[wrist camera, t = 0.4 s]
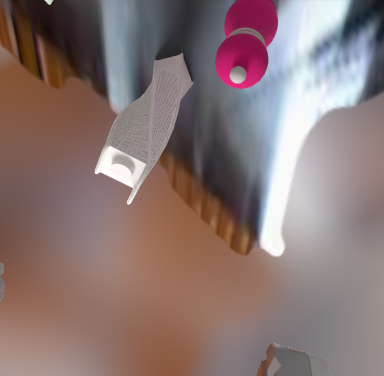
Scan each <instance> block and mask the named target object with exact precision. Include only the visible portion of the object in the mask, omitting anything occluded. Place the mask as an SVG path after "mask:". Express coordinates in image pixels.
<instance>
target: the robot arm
mask: <svg viewBox="0 0 384 376" xmlns="http://www.w3.org/2000/svg"><path fill="white" fill-rule="evenodd" d="M2 273H4V267H3V263H1V262H0V276H1V275H2ZM4 290H5V283H4V282H3V280H2V279H1V277H0V302H1V299H2V298H3V294H4ZM266 356H267V357H266V359H265V360H263V361H261V363H260V366H259V368H258V371H257V375H256V376H330V375H329V371H328V365H327V362H326V360H325V359H324V358H321V357H318V356H315V355H311V354H308V353H305V352H302V351H298V350H295V349H291V348H288V347H284V346H281V345H277V344H274V343H271V344H270V345H269V347H268V349H267V351H266Z"/></svg>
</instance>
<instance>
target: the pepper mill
mask: <svg viewBox="0 0 384 376" xmlns="http://www.w3.org/2000/svg"><path fill="white" fill-rule="evenodd" d="M277 27H278V17H277V13H276V11H275V6H274V3H273V1H272V0H237V1H236V2H235V3H234V4H233V5H232V6H231V7H230V9H229V11H228V12H227V15H226V19H225V26H224V30H225V35H226V38H227V39H225V40H224V41H223V43H222V44H221V45H220V47H219V48H218V51H217V54H216V59H215V66H216V71H217V73H218V75H219V77H220V79H221V80H222V81H223V82H224V83H225V84H227V85H228V86H231V87H233V88H239V89H242V88H248V87H251V86H253V85H255V84H256V83H257V82H259V81H260V80H261V78H262V77H263V75H264V74H265V72H266V69H267V66H268V53H267V49H266V47H267V46H268V45H269V44H270V43H271V42H272V40H273V39H274V37H275V34H276V31H277Z"/></svg>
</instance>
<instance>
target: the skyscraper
mask: <svg viewBox="0 0 384 376" xmlns="http://www.w3.org/2000/svg"><path fill="white" fill-rule="evenodd" d="M192 84H193V81H191V78H190V75H189V72H188V69H187V67H186V64H185V61H184V58H183V53H181V54H180V55H177V56H173V57H169V58H165V59H161V60H155V61H154V70H153V80H152V82H151V84H150V86H149V88H148V89H147V90H146V92H145V93H144V94H143V95H142V96H141V97H140V98H139V99H138V100H136V101H134V102H133V103H131V104H130V105H128V106H127V107H126V108H124V109H123V110H122V111H121V112H120V114H119V115H118V116H117V118H116V119H115V121H114V123H113V125H112V127H111V130H110V132H109V135H108V138H107V141H106V144H105V146H104V148H103V150H102V153H101V155H100V158H99V161H98V163H97V166H96V169H95V174H97V173H99V172H101V173H104V174H106V175H108V176H110V177H112V178H114V179H116V180H118V181H120V182H122V183H124V184H126V185H128V186H130V187H132V188H133V190H132V192H131V194H130V197H129V199H128V201H127V204H130V203H131V202H132V200H133V198H134V196H135V194H136V193H137V191H138V189H139V187H140V185H141V184H142V182H143V181H144V179H145V178H146V177H147V175H148V174H149V172H150V171H151V169H152V168H153V166H154V165H155V163H156V162H157V160H158V158H159V157H160V155H161V154H162V152H163V150H164V148H165V146H166V144H167V142H168V140H169V138H170V136H171V133H172V130H173V128H174V124H175V121H176V118H177V114H178V109H179V104H180V100H181V99H182V97H183V96H184V95H185V94H186V92H187V91H188V90H189V88H190V87H191V86H192Z"/></svg>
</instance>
